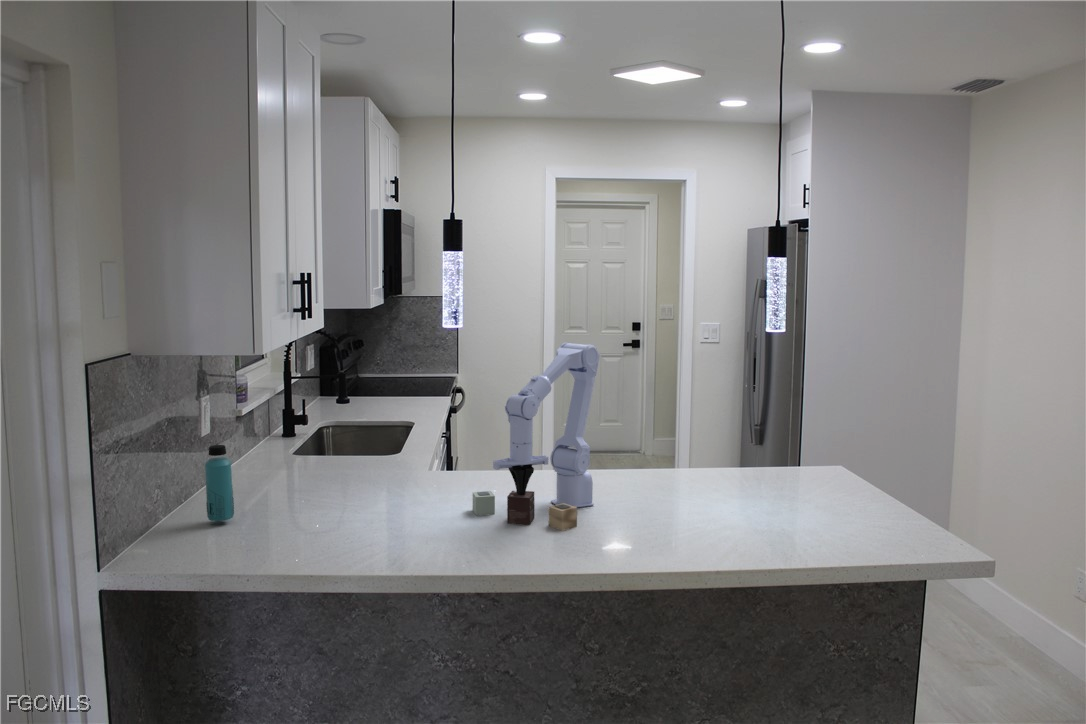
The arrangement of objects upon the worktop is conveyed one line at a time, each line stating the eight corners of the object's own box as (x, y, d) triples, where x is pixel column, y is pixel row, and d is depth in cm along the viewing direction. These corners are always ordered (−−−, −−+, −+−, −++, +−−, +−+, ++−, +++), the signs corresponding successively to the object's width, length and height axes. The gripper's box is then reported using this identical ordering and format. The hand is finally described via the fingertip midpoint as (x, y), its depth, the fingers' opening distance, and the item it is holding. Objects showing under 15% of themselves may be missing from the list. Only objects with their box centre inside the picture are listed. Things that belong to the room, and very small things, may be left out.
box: (529, 526, 216) (530, 497, 215) (506, 524, 217) (506, 496, 216) (534, 518, 222) (535, 491, 221) (512, 517, 223) (512, 489, 222)
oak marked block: (563, 522, 219) (563, 502, 218) (576, 526, 215) (577, 506, 214) (548, 525, 216) (548, 505, 215) (561, 530, 212) (562, 510, 211)
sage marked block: (491, 509, 230) (490, 490, 229) (494, 514, 225) (494, 495, 224) (472, 510, 228) (472, 491, 228) (476, 515, 223) (476, 496, 223)
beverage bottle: (240, 520, 218) (237, 443, 215) (222, 528, 212) (219, 449, 209) (219, 518, 220) (215, 441, 217) (201, 525, 214) (197, 447, 211)
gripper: (540, 436, 223) (540, 487, 225) (488, 441, 217) (488, 493, 219) (552, 441, 217) (551, 494, 219) (499, 446, 211) (499, 500, 212)
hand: (520, 494), depth 218 cm, fingers closed, pressing on box
